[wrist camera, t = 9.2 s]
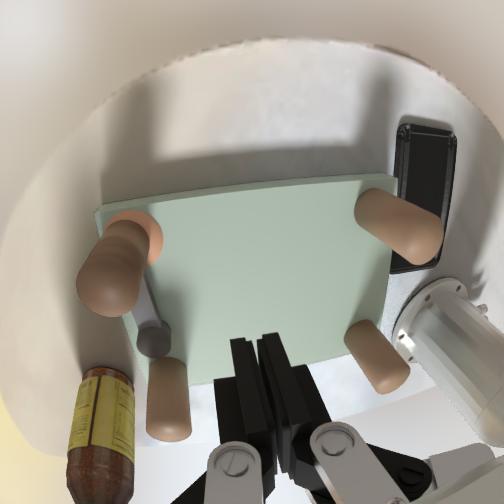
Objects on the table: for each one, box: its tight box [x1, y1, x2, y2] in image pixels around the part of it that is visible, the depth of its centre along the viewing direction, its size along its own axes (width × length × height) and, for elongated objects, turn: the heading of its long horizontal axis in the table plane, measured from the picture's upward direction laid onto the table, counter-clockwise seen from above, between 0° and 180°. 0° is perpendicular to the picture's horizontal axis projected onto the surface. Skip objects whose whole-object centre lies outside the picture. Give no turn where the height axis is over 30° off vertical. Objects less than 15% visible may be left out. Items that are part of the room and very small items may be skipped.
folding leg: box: [76, 220, 171, 359], centre depth 20 cm, size 11×4×7 cm, turn 7°
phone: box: [389, 124, 457, 274], centre depth 28 cm, size 8×1×15 cm
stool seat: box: [94, 173, 444, 442], centre depth 24 cm, size 24×18×9 cm
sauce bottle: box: [66, 367, 135, 504], centre depth 21 cm, size 6×6×20 cm
